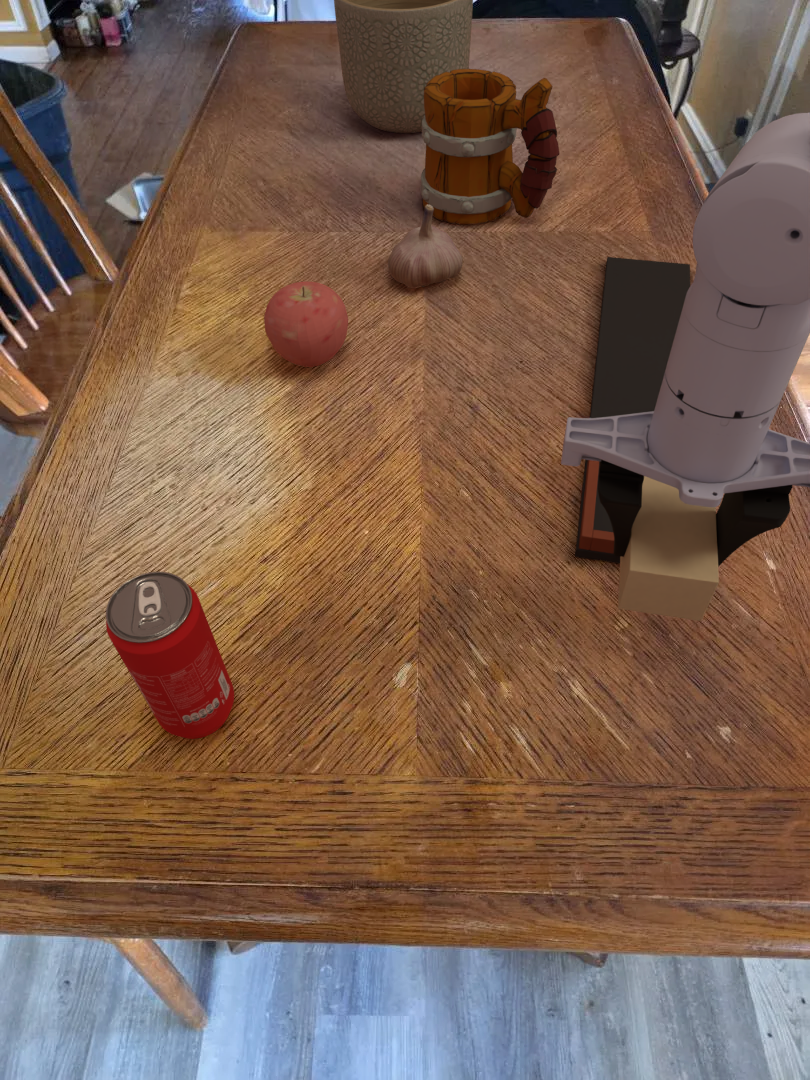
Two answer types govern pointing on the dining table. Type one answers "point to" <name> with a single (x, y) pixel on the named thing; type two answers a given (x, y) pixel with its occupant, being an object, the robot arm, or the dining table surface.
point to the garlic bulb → (425, 255)
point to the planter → (399, 55)
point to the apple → (306, 323)
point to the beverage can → (171, 653)
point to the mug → (485, 146)
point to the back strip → (628, 368)
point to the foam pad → (669, 556)
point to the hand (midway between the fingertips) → (663, 550)
